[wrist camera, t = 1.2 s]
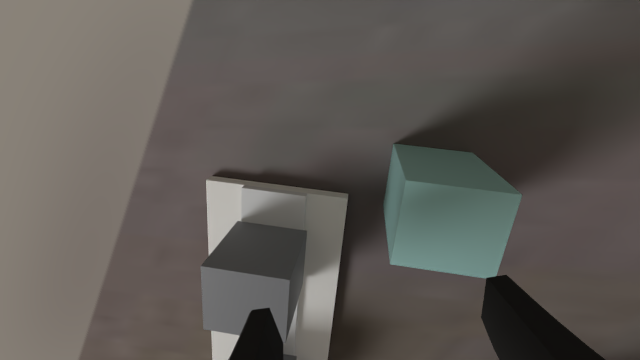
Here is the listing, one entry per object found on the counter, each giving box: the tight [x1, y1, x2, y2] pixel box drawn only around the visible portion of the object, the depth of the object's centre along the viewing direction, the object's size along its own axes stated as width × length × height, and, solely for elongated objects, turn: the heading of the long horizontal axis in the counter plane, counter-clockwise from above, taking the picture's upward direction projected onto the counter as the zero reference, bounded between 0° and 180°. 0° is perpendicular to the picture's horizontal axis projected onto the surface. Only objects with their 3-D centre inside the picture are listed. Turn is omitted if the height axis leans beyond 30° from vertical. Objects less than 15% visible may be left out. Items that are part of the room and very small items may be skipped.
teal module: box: [383, 144, 522, 278], centre depth 17 cm, size 4×4×6 cm
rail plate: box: [201, 176, 348, 360], centre depth 21 cm, size 9×18×6 cm, turn 175°
